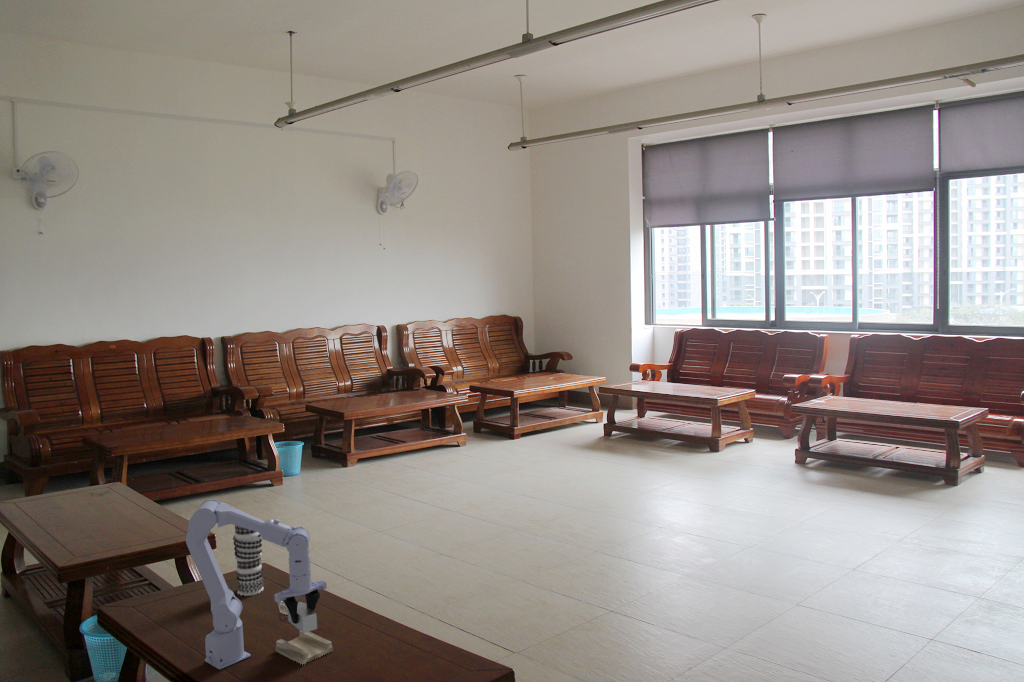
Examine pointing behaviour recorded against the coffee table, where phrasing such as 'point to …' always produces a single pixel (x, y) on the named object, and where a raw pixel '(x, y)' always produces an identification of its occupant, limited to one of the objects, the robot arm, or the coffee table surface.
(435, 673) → the coffee table surface
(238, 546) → the decorative candle
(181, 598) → the coffee table surface
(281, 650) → the cradle
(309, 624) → the grey rectangular block
